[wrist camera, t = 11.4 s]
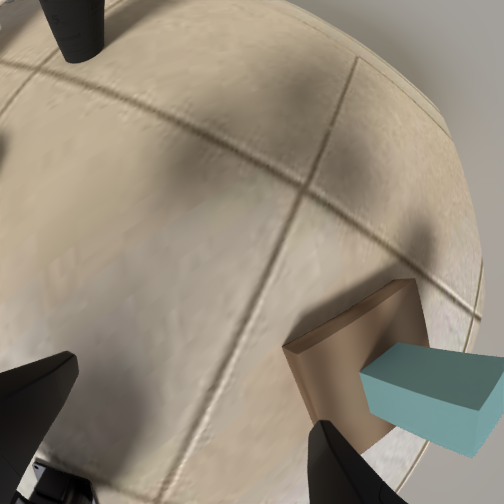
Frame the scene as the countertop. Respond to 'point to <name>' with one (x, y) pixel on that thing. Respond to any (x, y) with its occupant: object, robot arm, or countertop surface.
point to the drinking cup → (76, 27)
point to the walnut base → (355, 359)
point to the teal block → (437, 394)
